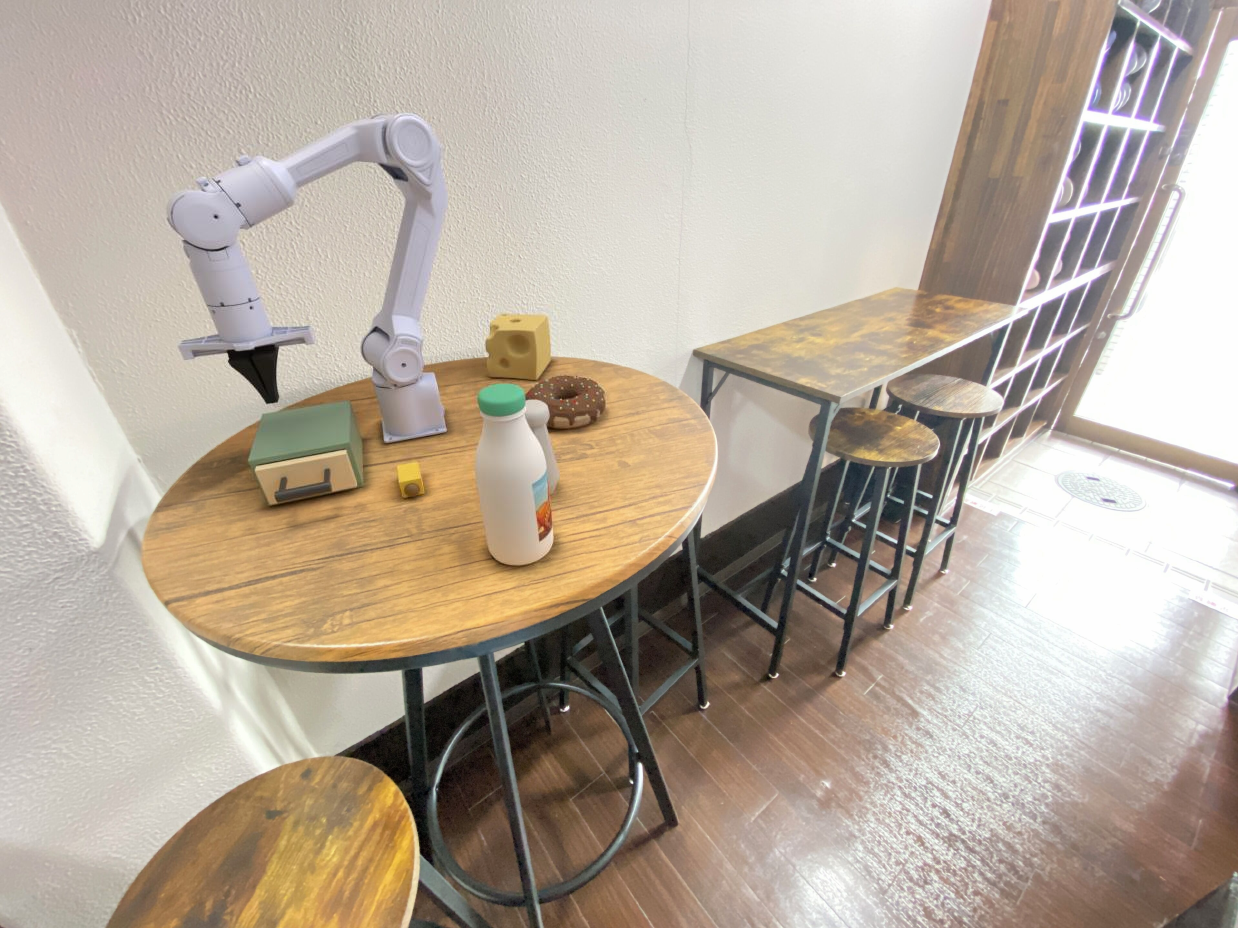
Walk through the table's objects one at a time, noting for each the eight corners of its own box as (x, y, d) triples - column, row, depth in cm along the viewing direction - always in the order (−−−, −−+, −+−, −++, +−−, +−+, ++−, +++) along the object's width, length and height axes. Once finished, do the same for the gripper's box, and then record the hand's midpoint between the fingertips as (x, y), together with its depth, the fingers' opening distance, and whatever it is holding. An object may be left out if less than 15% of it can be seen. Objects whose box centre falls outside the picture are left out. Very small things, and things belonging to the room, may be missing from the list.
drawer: (357, 506, 68) (345, 472, 65) (264, 526, 65) (248, 491, 62) (356, 443, 82) (347, 412, 79) (280, 457, 78) (267, 425, 75)
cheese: (487, 378, 104) (480, 328, 99) (506, 357, 113) (500, 310, 108) (539, 381, 103) (534, 331, 97) (554, 360, 112) (550, 313, 106)
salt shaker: (553, 505, 70) (545, 417, 63) (512, 500, 71) (499, 413, 64) (565, 480, 75) (560, 396, 68) (527, 475, 76) (517, 392, 68)
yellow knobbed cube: (420, 473, 76) (417, 457, 75) (425, 497, 71) (421, 481, 70) (400, 477, 75) (396, 461, 74) (403, 502, 70) (399, 486, 69)
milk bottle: (525, 577, 59) (503, 416, 48) (474, 552, 62) (443, 397, 51) (567, 537, 64) (555, 385, 53) (518, 516, 68) (498, 370, 57)
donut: (606, 396, 97) (605, 370, 95) (606, 433, 86) (606, 405, 83) (527, 397, 97) (525, 371, 94) (517, 434, 85) (514, 406, 83)
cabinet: (363, 486, 73) (349, 442, 70) (268, 506, 70) (247, 460, 66) (362, 440, 84) (349, 399, 80) (279, 455, 80) (262, 413, 76)
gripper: (152, 316, 60) (203, 423, 67) (296, 302, 64) (330, 403, 72) (169, 300, 65) (215, 400, 73) (301, 287, 70) (332, 383, 77)
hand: (272, 400), depth 73 cm, fingers closed
